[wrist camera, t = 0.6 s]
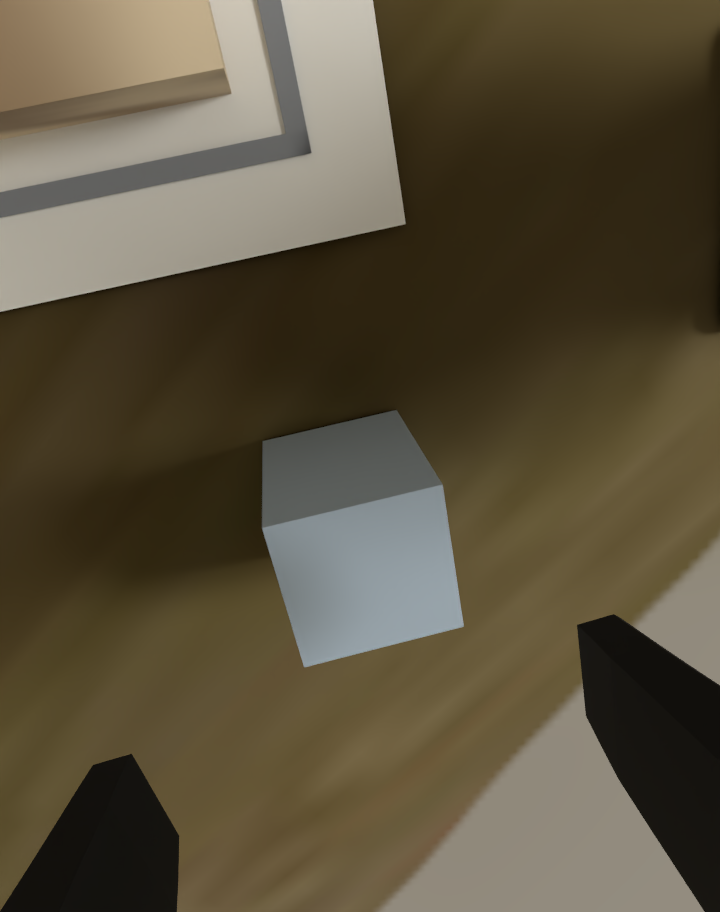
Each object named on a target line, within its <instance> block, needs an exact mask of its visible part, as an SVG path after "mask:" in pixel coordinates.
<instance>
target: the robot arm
mask: <svg viewBox="0 0 720 912" xmlns="http://www.w3.org/2000/svg"><path fill="white" fill-rule="evenodd" d="M577 628H578V639H579V649H580V659H581V669H582V679H583V689H584V699H585V710H586V716H587V719H588V720H589V722H590V724H591V726H592V728H593V730H594V732H595V734H596V736H597V738H598V740H599V742H600V744H601V746H602V748H603V750H604V752H605V754H606V756H607V758H608V760H609V762H610V763H611V766H612V767H613V769H614V771H615V773H616V775H617V777H618V779H619V780H620V782H621V784H622V785H623V787H624V788H625V790H626V791H627V793H628V795H629V796H630V798H631V799H632V801H633V802H634V804H635V805H636V807H637V809H638V810H639V811H640V813H641V815H642V816H643V818H644V819H645V821H646V822H647V824H648V825H649V827H650V829H651V830H652V832H653V833H654V835H655V836H656V838H657V839H658V841H659V842H660V844H661V845H662V847H663V849H664V850H665V852H666V853H667V855H668V856H669V858H670V859H671V861H672V862H673V864H674V865H675V867H676V868H677V870H678V871H679V873H680V874H681V876H682V877H683V879H684V881H685V882H686V884H687V885H688V887H689V888H690V890H691V891H692V893H693V894H694V896H695V897H696V899H697V900H698V902H699V904H700V905H701V907H702V908H703V910H704V911H705V912H720V685H719V684H717V683H715V682H714V681H712V680H711V679H709V678H708V677H706V676H705V675H703V674H702V673H700V672H698V671H697V670H696V669H694V668H693V667H691V666H690V665H688V664H687V663H685V662H684V661H682V660H681V659H679V658H678V657H676V656H675V655H673V654H672V653H670V652H669V651H667V650H666V649H664V648H663V647H661V646H660V645H659V644H657V643H656V642H654V641H653V640H651V639H650V638H649V637H647V636H646V635H644V634H643V633H641V632H640V631H638V630H637V629H636V628H634V627H633V626H631V625H630V624H628V623H627V622H625V621H624V620H622V619H621V618H619V617H618V616H616V615H614V614H613V615H610V616H606V617H603V618H599V619H596V620H593V621H589V622H586V623H582V624H579V625H577ZM178 863H179V835H178V833H177V831H176V830H175V828H174V826H173V825H172V823H171V821H170V819H169V818H168V816H167V814H166V812H165V811H164V809H163V807H162V806H161V804H160V802H159V800H158V799H157V797H156V795H155V793H154V792H153V790H152V788H151V786H150V785H149V783H148V781H147V780H146V778H145V776H144V774H143V773H142V771H141V769H140V767H139V766H138V764H137V762H136V761H135V759H134V757H133V755H132V754H130V755H126V756H123V757H119V758H116V759H112V760H109V761H105V762H102V763H99V764H95V765H93V766H92V768H91V769H90V771H89V772H88V774H87V775H86V777H85V778H84V780H83V781H82V783H81V785H80V786H79V788H78V789H77V791H76V792H75V794H74V796H73V797H72V799H71V800H70V802H69V804H68V805H67V807H66V808H65V810H64V812H63V813H62V815H61V816H60V818H59V820H58V821H57V823H56V824H55V826H54V828H53V829H52V831H51V832H50V834H49V836H48V837H47V839H46V840H45V842H44V844H43V845H42V847H41V848H40V850H39V852H38V853H37V855H36V856H35V858H34V859H33V861H32V863H31V864H30V866H29V867H28V869H27V871H26V872H25V874H24V875H23V877H22V878H21V880H20V882H19V883H18V885H17V886H16V888H15V889H14V891H13V892H12V894H11V895H10V897H9V899H8V900H7V902H6V903H5V905H4V906H3V908H2V909H1V911H0V912H177V893H178Z"/></svg>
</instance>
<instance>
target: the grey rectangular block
mask: <svg viewBox="0 0 720 912" xmlns="http://www.w3.org/2000/svg"><path fill="white" fill-rule="evenodd" d="M262 530H263V533H264V536H265V540H266V543H267V546H268V549H269V553H270V556H271V559H272V563H273V566H274V569H275V572H276V576H277V579H278V582H279V586H280V589H281V592H282V595H283V599H284V602H285V605H286V609H287V612H288V615H289V619H290V622H291V625H292V628H293V632H294V635H295V638H296V642H297V645H298V648H299V651H300V655H301V658H302V661H303V665H304V667H307V666H311V665H315V664H319V663H323V662H327V661H331V660H335V659H339V658H343V657H346V656H350V655H354V654H358V653H362V652H366V651H370V650H374V649H378V648H382V647H386V646H389V645H393V644H397V643H401V642H405V641H409V640H413V639H417V638H421V637H425V636H429V635H432V634H436V633H440V632H444V631H448V630H452V629H456V628H460V627H464V625H463V618H462V612H461V605H460V598H459V592H458V585H457V578H456V572H455V565H454V558H453V551H452V545H451V538H450V531H449V525H448V518H447V511H446V505H445V498H444V491H443V485H442V483H441V481H440V480H439V478H438V476H437V475H436V473H435V472H434V470H433V468H432V467H431V465H430V463H429V462H428V460H427V459H426V457H425V455H424V454H423V452H422V451H421V449H420V447H419V446H418V444H417V442H416V441H415V439H414V438H413V436H412V434H411V433H410V431H409V429H408V428H407V426H406V425H405V423H404V421H403V420H402V418H401V417H400V415H399V413H398V412H397V410H394V411H390V412H385V413H381V414H377V415H373V416H368V417H364V418H360V419H356V420H351V421H347V422H343V423H338V424H334V425H330V426H326V427H321V428H317V429H313V430H308V431H304V432H300V433H296V434H291V435H287V436H283V437H278V438H274V439H270V440H266V441H263V457H262Z"/></svg>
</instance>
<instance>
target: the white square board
mask: <svg viewBox="0 0 720 912" xmlns="http://www.w3.org/2000/svg"><path fill="white" fill-rule="evenodd" d="M209 2H210V6H211V10H212V14H213V18H214V23H215V27H216V31H217V35H218V39H219V43H220V47H221V51H222V56H223V60H224V64H225V68H226V72H227V76H228V80H229V84H230V89H231V93H232V94H227V95H222V96H217V97H212V98H207V99H202V100H197V101H192V102H187V103H182V104H177V105H172V106H167V107H162V108H157V109H152V110H147V111H142V112H137V113H132V114H127V115H122V116H117V117H112V118H107V119H102V120H97V121H92V122H87V123H82V124H77V125H72V126H67V127H62V128H57V129H52V130H47V131H42V132H37V133H32V134H27V135H22V136H17V137H12V138H7V139H2V140H0V312H2V311H6V310H11V309H16V308H20V307H25V306H29V305H34V304H39V303H43V302H48V301H53V300H57V299H62V298H66V297H71V296H76V295H80V294H85V293H90V292H94V291H99V290H103V289H108V288H113V287H117V286H122V285H127V284H131V283H136V282H140V281H145V280H150V279H154V278H159V277H164V276H168V275H173V274H177V273H182V272H187V271H191V270H196V269H201V268H205V267H210V266H214V265H219V264H224V263H228V262H233V261H238V260H242V259H247V258H251V257H256V256H261V255H265V254H270V253H275V252H279V251H284V250H288V249H293V248H298V247H302V246H307V245H312V244H316V243H321V242H325V241H330V240H335V239H339V238H344V237H349V236H353V235H358V234H362V233H367V232H372V231H376V230H381V229H386V228H390V227H395V226H399V225H404V224H406V222H405V215H404V208H403V202H402V195H401V188H400V181H399V175H398V168H397V161H396V154H395V148H394V141H393V134H392V127H391V120H390V114H389V107H388V100H387V93H386V87H385V80H384V73H383V66H382V60H381V53H380V46H379V39H378V33H377V26H376V19H375V12H374V5H373V0H209Z"/></svg>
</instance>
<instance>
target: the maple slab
mask: <svg viewBox="0 0 720 912" xmlns="http://www.w3.org/2000/svg"><path fill="white" fill-rule="evenodd" d="M227 94H232V93H231V89H230V84H229V80H228V76H227V72H226V68H225V64H224V60H223V56H222V51H221V47H220V43H219V39H218V35H217V31H216V27H215V23H214V18H213V14H212V10H211V6H210V2H209V0H0V140H2V139H7V138H12V137H17V136H22V135H27V134H32V133H37V132H42V131H47V130H52V129H57V128H62V127H67V126H72V125H77V124H82V123H87V122H92V121H97V120H102V119H107V118H112V117H117V116H122V115H127V114H132V113H137V112H142V111H147V110H152V109H157V108H162V107H167V106H172V105H177V104H182V103H187V102H192V101H197V100H202V99H207V98H212V97H217V96H222V95H227Z"/></svg>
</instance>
